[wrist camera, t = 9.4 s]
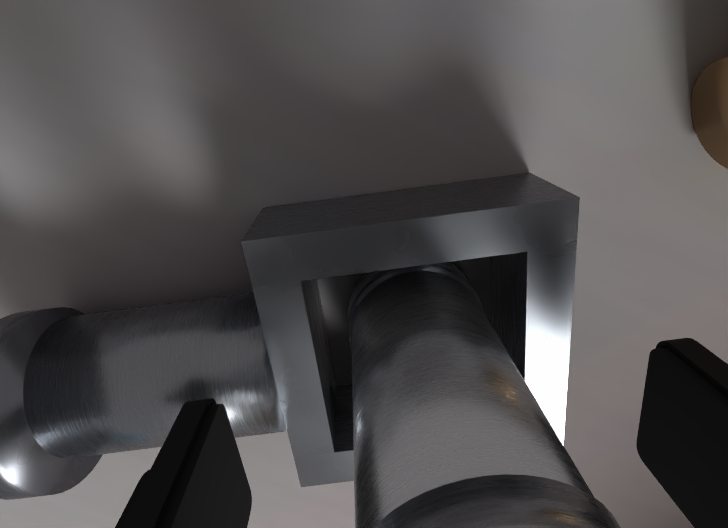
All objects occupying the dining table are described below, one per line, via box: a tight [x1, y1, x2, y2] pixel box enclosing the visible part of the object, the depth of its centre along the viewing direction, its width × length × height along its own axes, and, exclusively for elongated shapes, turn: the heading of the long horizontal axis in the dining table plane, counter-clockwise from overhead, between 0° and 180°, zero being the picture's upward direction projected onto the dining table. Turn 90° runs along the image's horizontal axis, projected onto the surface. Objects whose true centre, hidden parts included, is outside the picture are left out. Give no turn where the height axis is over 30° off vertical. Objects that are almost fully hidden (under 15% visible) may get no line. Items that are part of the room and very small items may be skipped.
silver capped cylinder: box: [348, 262, 620, 528], centre depth 10 cm, size 4×4×10 cm
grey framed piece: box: [0, 173, 580, 500], centre depth 12 cm, size 15×8×5 cm, turn 97°
